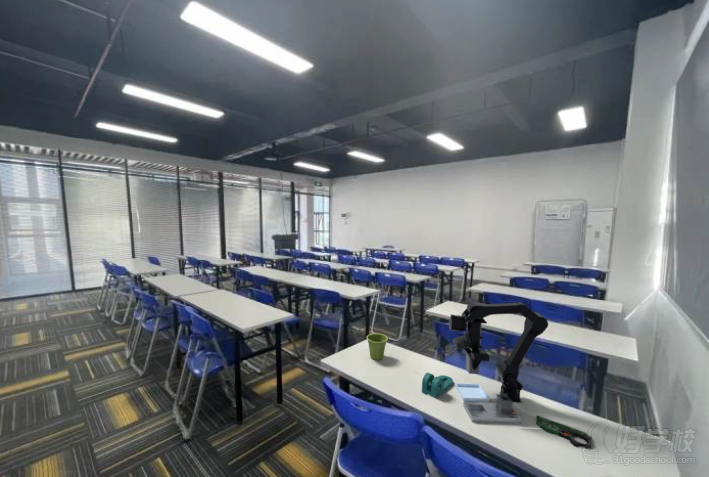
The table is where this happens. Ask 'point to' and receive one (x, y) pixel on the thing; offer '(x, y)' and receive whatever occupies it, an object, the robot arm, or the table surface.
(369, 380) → the table surface
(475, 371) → the plug
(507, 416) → the grey socket base
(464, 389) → the tray
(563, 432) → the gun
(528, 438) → the table surface
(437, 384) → the bracket
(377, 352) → the plant pot
